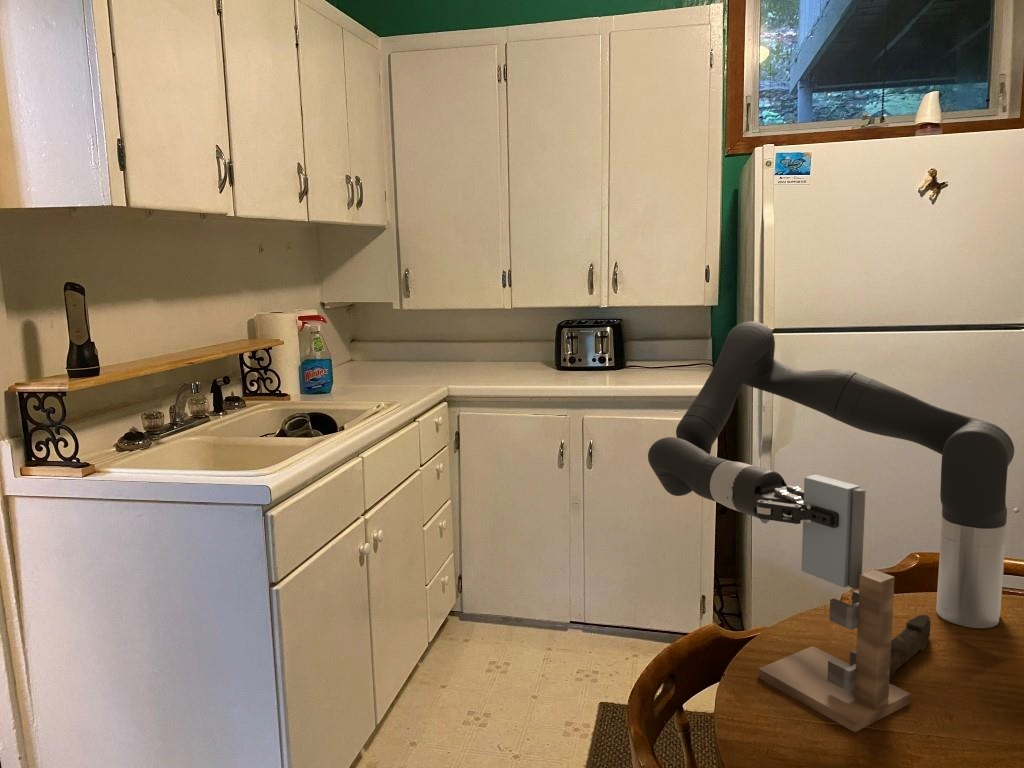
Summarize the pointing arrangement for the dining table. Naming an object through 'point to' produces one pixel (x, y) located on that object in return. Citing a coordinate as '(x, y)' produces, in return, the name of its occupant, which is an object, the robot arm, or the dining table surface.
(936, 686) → the dining table surface
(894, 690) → the hinge frame
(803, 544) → the cabinet door
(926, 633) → the hand tool
